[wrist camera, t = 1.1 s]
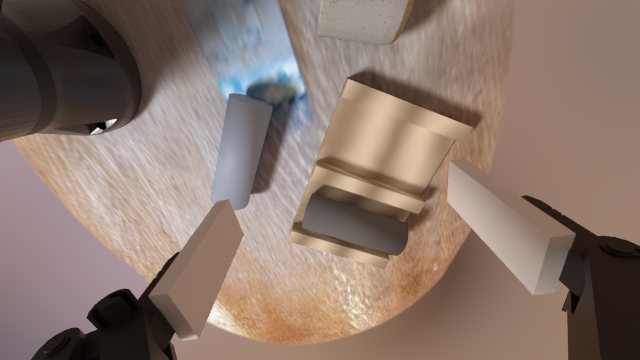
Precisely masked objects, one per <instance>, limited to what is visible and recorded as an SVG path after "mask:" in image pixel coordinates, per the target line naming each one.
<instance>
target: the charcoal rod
mask: <svg viewBox="0 0 640 360" xmlns="http://www.w3.org/2000/svg"><path fill="white" fill-rule="evenodd" d="M302 228H304V229H308V230H311V231H314V232H318V233H321V234H325V235H328V236H331V237H335V238H338V239H341V240H345V241H348V242H351V243H355V244H358V245H361V246H365V247H368V248H372V249H375V250H378V251H382V252H385V253H388V254H392V255H395V256H397V255H399V254H401V253H402V252H403V250H404V248H405V246H406V244H407V240H408V227H407V225H406V223H404V222H402V221H399V220H396V219H393V218H389V217H386V216H383V215H380V214H377V213H374V212H371V211H368V210H364V209H361V208H358V207H355V206H352V205H349V204H346V203H342V202H339V201H336V200H333V199H330V198H327V197H324V196H321V195H317V194H314V193H312V195H311V197H310V199H309V202H308V204H307V207H306V211H305V214H304V218H303V222H302Z"/></svg>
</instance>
